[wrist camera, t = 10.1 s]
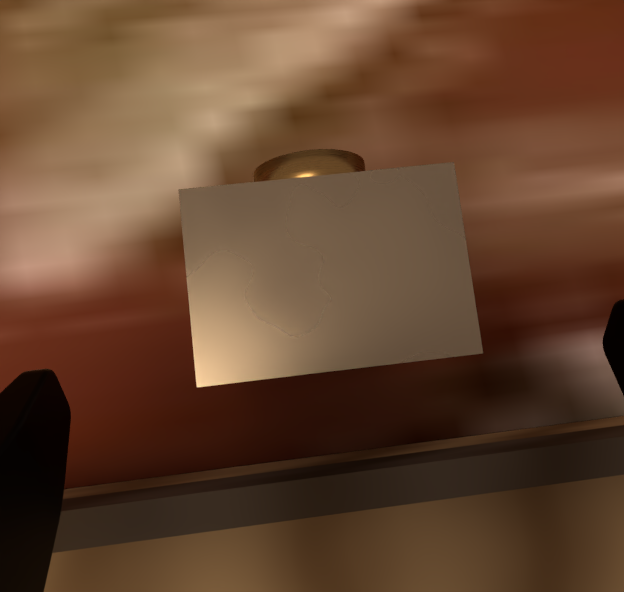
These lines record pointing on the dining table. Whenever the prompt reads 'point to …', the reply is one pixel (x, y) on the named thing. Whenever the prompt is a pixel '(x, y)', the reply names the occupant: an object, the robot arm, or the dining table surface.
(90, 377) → the dining table surface
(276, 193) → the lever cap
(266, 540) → the tan piece
